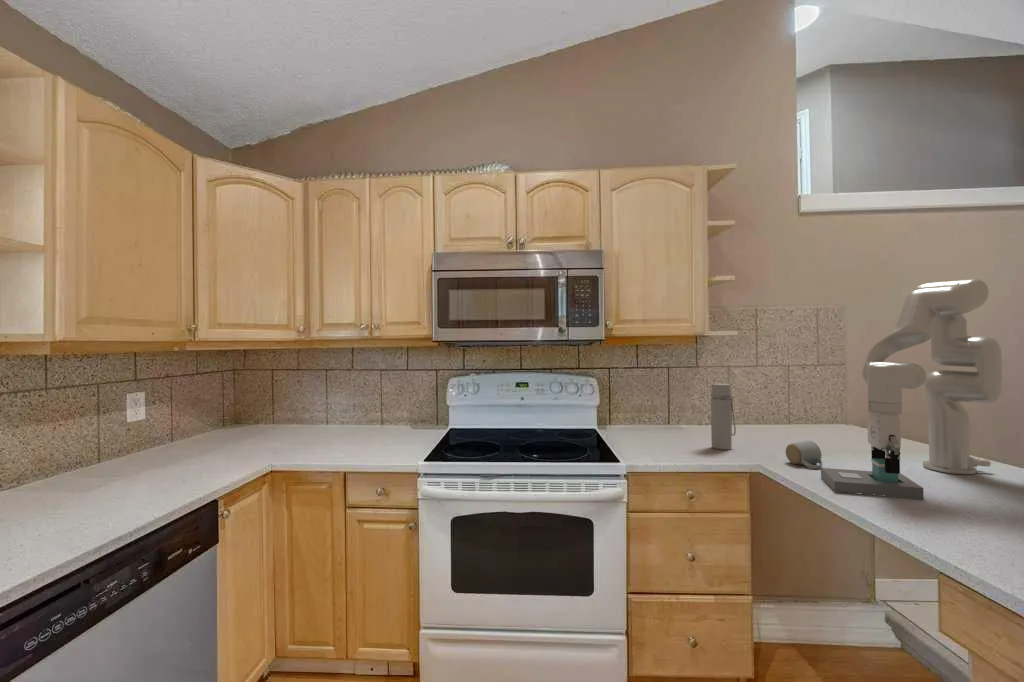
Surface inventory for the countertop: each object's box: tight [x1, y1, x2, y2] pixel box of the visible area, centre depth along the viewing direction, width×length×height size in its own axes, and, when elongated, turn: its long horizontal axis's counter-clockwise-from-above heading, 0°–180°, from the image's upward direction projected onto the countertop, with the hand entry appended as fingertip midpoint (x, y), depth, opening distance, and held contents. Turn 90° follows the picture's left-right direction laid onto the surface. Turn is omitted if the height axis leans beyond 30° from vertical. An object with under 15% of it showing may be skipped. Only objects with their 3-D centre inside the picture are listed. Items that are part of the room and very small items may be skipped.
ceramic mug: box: [785, 440, 823, 470], centre depth 158 cm, size 11×8×8 cm
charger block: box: [871, 457, 898, 482], centre depth 133 cm, size 5×5×8 cm
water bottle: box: [710, 382, 737, 451], centre depth 183 cm, size 9×8×25 cm
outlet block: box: [820, 467, 924, 500], centre depth 134 cm, size 20×14×3 cm
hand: (885, 468), depth 133 cm, fingers open, 9 cm apart
